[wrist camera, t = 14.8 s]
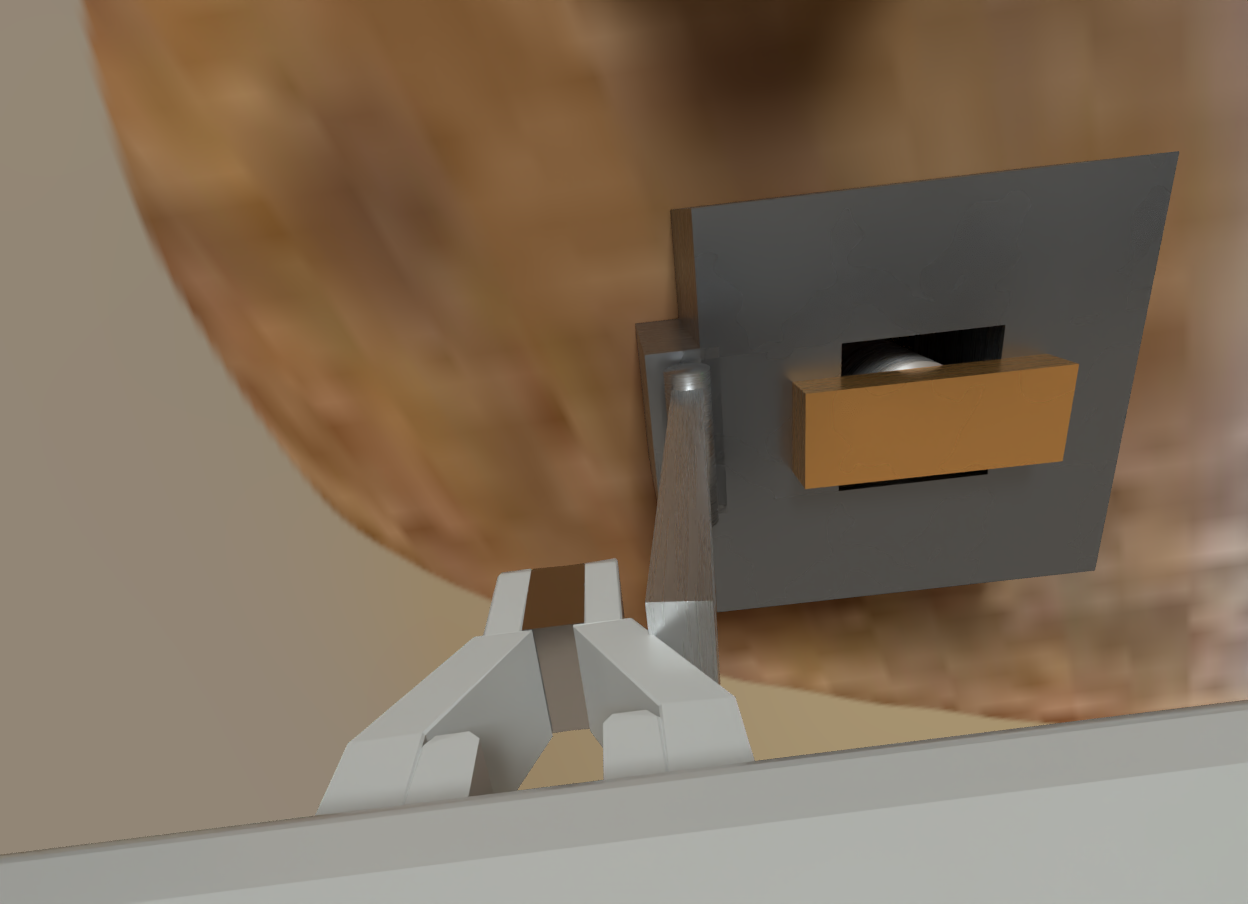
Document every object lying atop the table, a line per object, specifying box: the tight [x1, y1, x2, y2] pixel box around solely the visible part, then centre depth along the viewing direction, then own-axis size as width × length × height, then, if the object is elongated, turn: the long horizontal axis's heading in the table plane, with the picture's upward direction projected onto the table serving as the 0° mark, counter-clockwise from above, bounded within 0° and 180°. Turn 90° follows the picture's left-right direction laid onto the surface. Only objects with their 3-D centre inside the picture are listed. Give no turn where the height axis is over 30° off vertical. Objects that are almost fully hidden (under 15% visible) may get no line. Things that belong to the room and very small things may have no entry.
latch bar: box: [645, 363, 720, 685], centre depth 12 cm, size 10×4×1 cm
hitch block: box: [635, 151, 1179, 612], centre depth 20 cm, size 14×12×5 cm
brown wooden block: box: [792, 339, 1079, 489], centre depth 19 cm, size 7×3×6 cm, turn 96°
